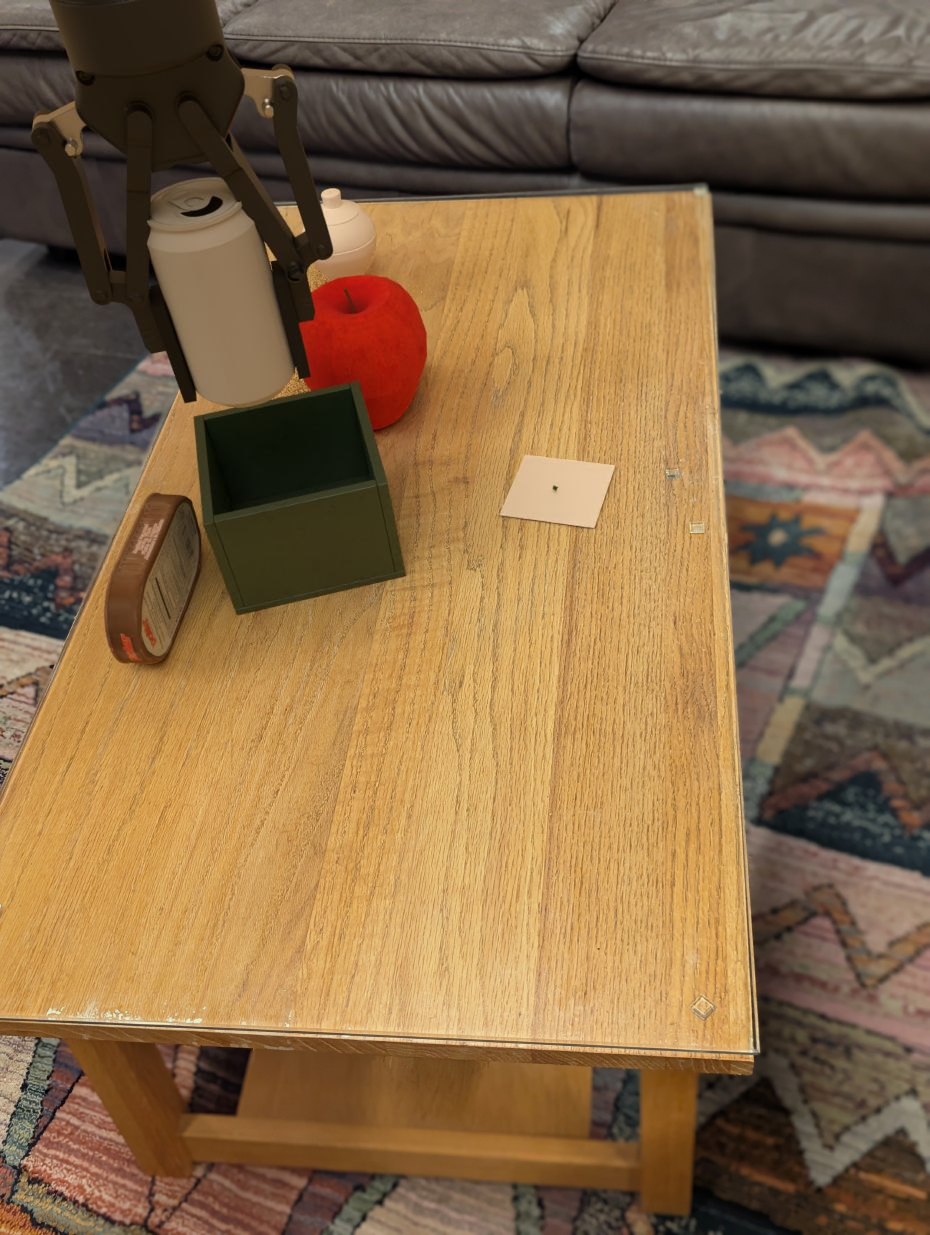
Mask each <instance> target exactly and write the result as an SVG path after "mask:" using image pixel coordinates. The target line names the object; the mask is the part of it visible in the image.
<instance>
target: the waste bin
mask: <svg viewBox="0 0 930 1235" xmlns="http://www.w3.org/2000/svg"><path fill="white" fill-rule="evenodd" d="M193 426H194V427H193V428H194V437H195V440H194V441H195V450H196V451H195V452H196V459H197V472H198V483H199V484H198V486H199V495H200V506H201V507H200V508H201V517H202V526H203V529H204V531H205V535H206V537H207V539H208V542H209V545H210V547H211V549H212V552H213V555H214V558H215V560H216V563H217V566H218V569H219V571H220V574H221V578H222V579H223V582H224V585H225V587H226V590H227V592H228V595H229V598H230V601H231V603H232V606H233V608H234V611H235V614H236V615H237V616H239V615H244V614H249V613H253V612H257V611H261V610H266V609H271V608H274V607H278V606H283V605H286V604H291V603H295V602H299V601H304V600H308V599H313V598H317V597H322V596H326V595H329V594H333V593H339V592H344V591H347V590H352V589H355V588H360V587H365V586H367V585H368V586H369V585H372V584H377V583H382V582H385V581H389V580H395V579H398V578H403V577H406V576H407V574H406V573H407V572H406V569H405V562H404V558H403V552H402V548H401V542H400V538H399V532H398V527H397V522H396V517H395V512H394V506H393V503H392V497H391V492H390V487H389V482H388V479H387V476H386V471H385V468H384V464H383V461H382V457H381V454H380V451H379V450H380V449H379V447H378V443H377V439H376V437H375V436H376V435H375V432H374V430H373V429H372V425H371V422H370V418H369V415H368V411H367V408H366V404H365V400H364V397H363V393H362V390H361V386H360V383H359V381H356V382H351V383H345V384H341V385H336V386H332V387H327V388H322V389H318V390H313V391H311V390H308V391H305V392H300V393H294V394H290V395H286V396H281V397H277V398H276V397H275V398H272V399H271V400H269V401H267V402H264V403H262V404H259V405H255V406H251V407H243V408H234V407H229V408H226V409H221V410H218V411H212V412H207V413H204V414H198V415H194V416H193Z"/></svg>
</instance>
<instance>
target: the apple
mask: <svg viewBox="0 0 930 1235" xmlns="http://www.w3.org/2000/svg"><path fill="white" fill-rule="evenodd" d="M311 295H312V299H313V303H314V308H315V317H314V320H311V321H307V322H302V323H299V326H300V330H301V334H302V338H303V342H304V346H305V350H306V354H307V359H308V364H309V369H310V374H311V377H308V378H303V379H302V380H303V382H304V384H305V385H306V386H307V388H308V389H309V391H313V390H318V389H322V388H327V387H332V386H336V385H341V384H345V383H351V382H356V381H359V383H360V386H361V390H362V393H363V397H364V400H365V404H366V408H367V411H368V415H369V418H370V422H371V425H372V429H373V431H376V430H380V429H384V428H387V427H389V426H390V425H392V424H394V423H395V422H397V421H398V420H399V419H401V418H402V417H403V415H404V414H405V413H406V411H407V410H408V408H409V406H410V404H411V403H412V401H413V399H414V398H415V395H416V392H417V389H418V386H419V383H420V381H421V378H422V375H423V372H424V369H425V367H426V362H427V357H428V336H427V335H428V333H427V330H426V327H425V324H424V321H423V317H422V314H421V313H420V310H419V306H418V304H417V303H416V302H415V300H414V298H413V297H412V296H411V294H410V293H409V291H407V289H405V288H404V287H403V286H402V285H401V284H400V283H399V282H397V281H395V280H393V279H391V278H389V277H386V276H380V275H379V276H378V275H373V274H365V275H357V276H349V277H341V278H337V279H334V280H332V281H329V280H328V281H327V282H325V283H323V284H321V285H320V286H318V287H317V288H315V289H313V290H312V291H311Z"/></svg>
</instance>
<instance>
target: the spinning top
mask: <svg viewBox="0 0 930 1235" xmlns="http://www.w3.org/2000/svg"><path fill="white" fill-rule="evenodd" d="M320 196H321V200H322V203H320V204H321V207H322V211H323V214H324V217H325V220H326V224H327V227H328V230H329V234H330V238H331V242H332V245H333V254H332V256H331V257H330V258H329V259H327V260H317V261H316V262H314V263H312V264H311V265H313V266H314V267H315V268H316V269H317V271H318V272H319V273H320V274H321V275H323V276H324V277H325V278H326V279H327V280H328V282H329V281H332V280H334V279H337V278H341V277H349V276H357V275H366V274H367V272H368V269H369V268H370V266H371V263H372V261H373V259H374V258H373V257H374V254H375V252H376V248H377V243H378V232H377V226H376V224H375V222H374V220H373V218H372V217H371V215H370V214H369V213H368V212H367V211H366V210H365V209H364V208H363V207H361V206H359V204H358V203H356V202H354V201H352V200H348V199H342V196H341V190H340V189H338V188H327V189H324V190H323V191H322V192H321V194H320ZM303 232H305V228H304V225H303V226H302V229H301V233H303Z"/></svg>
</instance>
